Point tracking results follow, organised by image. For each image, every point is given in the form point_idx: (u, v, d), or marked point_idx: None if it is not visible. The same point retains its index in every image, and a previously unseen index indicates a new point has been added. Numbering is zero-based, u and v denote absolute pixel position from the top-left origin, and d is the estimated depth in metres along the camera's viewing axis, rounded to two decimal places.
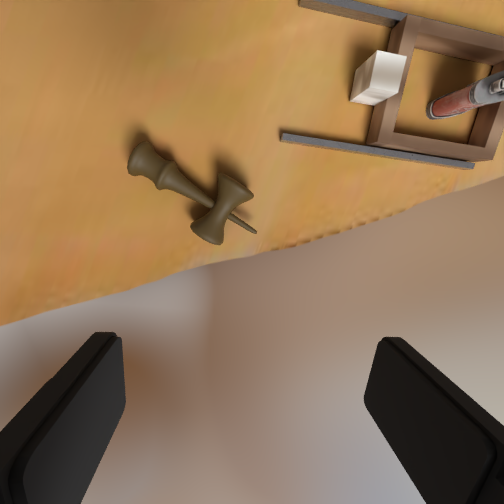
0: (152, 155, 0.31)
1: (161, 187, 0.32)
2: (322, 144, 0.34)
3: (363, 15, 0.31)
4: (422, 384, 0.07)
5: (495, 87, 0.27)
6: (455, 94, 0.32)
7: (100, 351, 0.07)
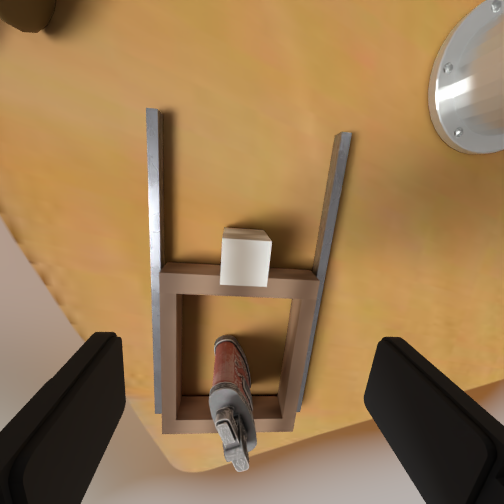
0: None
1: None
2: (150, 186, 0.20)
3: (323, 228, 0.23)
4: (422, 384, 0.07)
5: (219, 415, 0.18)
6: (230, 364, 0.23)
7: (100, 351, 0.07)
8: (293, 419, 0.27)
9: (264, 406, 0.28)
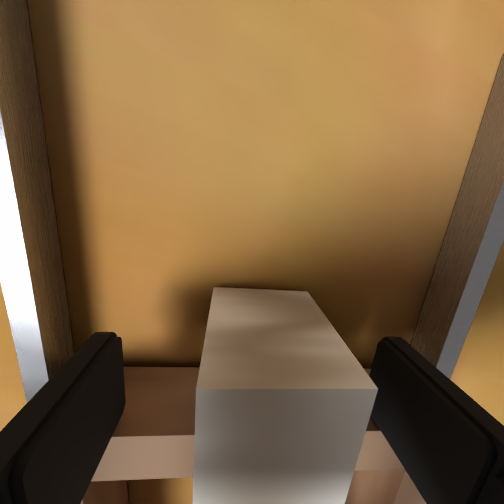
0: None
1: None
2: None
3: (450, 287, 0.10)
4: (422, 384, 0.07)
5: None
6: None
7: (100, 351, 0.06)
8: None
9: None
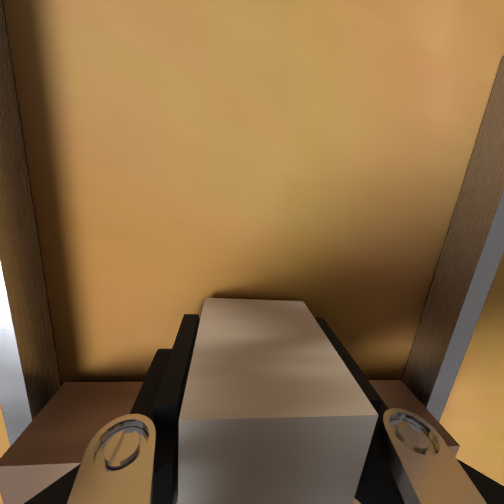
0: None
1: None
2: None
3: (450, 296, 0.09)
4: None
5: None
6: None
7: (196, 328, 0.08)
8: None
9: None
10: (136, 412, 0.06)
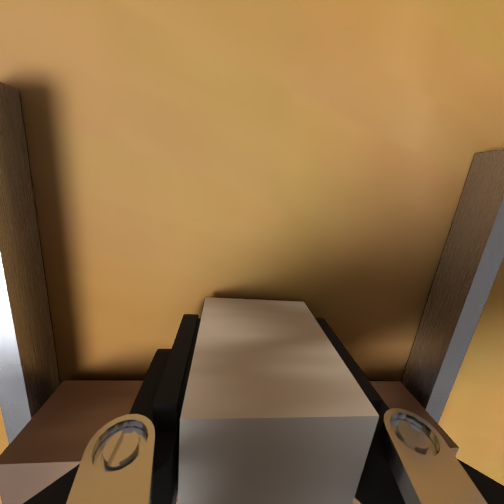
0: None
1: None
2: None
3: (428, 362, 0.10)
4: None
5: None
6: None
7: (195, 328, 0.08)
8: None
9: None
10: (135, 412, 0.06)
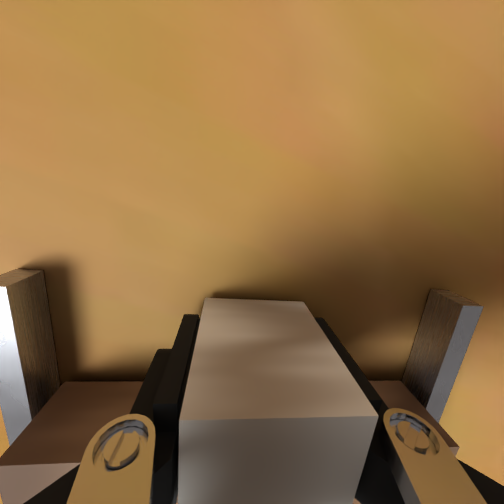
0: None
1: None
2: (14, 439, 0.09)
3: None
4: None
5: None
6: None
7: (196, 328, 0.08)
8: None
9: None
10: (136, 412, 0.06)
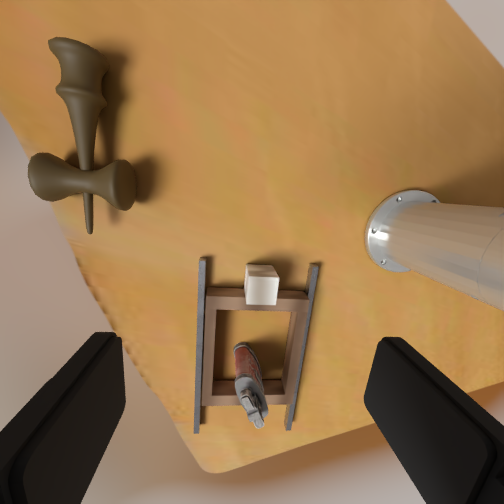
0: (88, 69, 0.24)
1: (59, 94, 0.24)
2: (199, 300, 0.34)
3: None
4: (422, 384, 0.07)
5: (242, 393, 0.30)
6: (246, 362, 0.35)
7: (100, 351, 0.06)
8: (292, 395, 0.39)
9: (271, 387, 0.40)
10: None
